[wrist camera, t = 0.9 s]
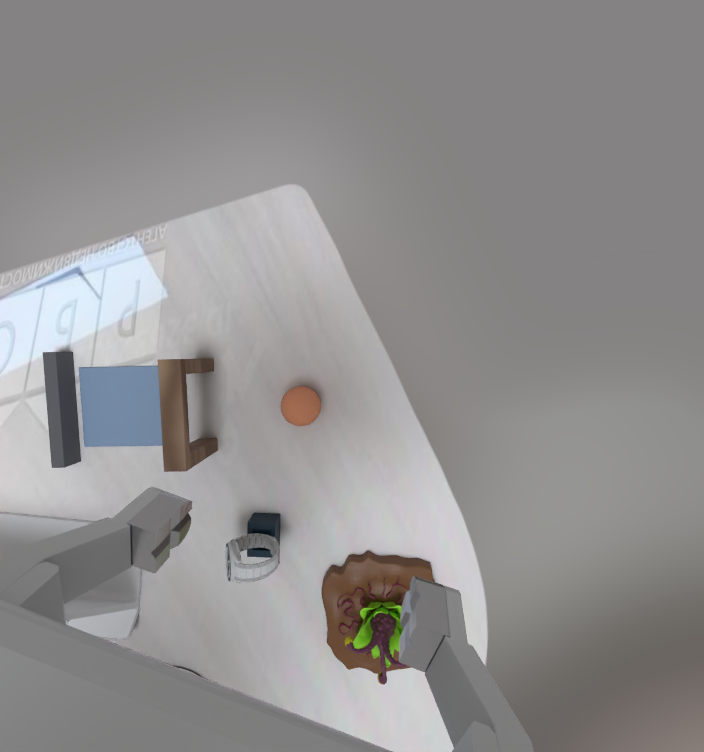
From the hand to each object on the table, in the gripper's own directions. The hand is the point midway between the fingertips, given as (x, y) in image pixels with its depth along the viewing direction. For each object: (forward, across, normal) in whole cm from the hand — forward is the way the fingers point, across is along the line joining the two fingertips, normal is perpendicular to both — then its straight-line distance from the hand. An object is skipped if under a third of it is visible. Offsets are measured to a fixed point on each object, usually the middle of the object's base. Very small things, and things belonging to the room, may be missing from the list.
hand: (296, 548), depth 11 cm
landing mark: (+33, -38, -22) cm, 55 cm away
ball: (+35, -9, -14) cm, 39 cm away
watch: (+31, -10, -36) cm, 49 cm away
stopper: (+32, -46, -24) cm, 61 cm away
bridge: (+35, -25, -19) cm, 47 cm away
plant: (+31, +12, -44) cm, 55 cm away
